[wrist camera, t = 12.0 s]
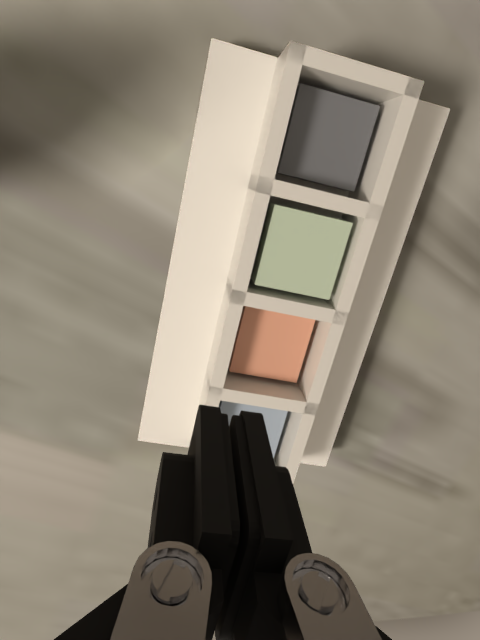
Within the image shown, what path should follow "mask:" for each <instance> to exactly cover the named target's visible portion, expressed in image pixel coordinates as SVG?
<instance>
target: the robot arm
mask: <svg viewBox="0 0 480 640" xmlns="http://www.w3.org/2000/svg"><path fill="white" fill-rule="evenodd" d="M214 631H215V637H216V640H392V639H391V638H389V637H388V636H387V635H386V634H385V633H383V632H382V631H381V630H380V629H379V628H377V627H376V626H375V625H374V623H373V621H372V619H371V617H370V615H369V613H368V611H367V609H366V607H365V605H364V603H363V601H362V599H361V597H360V595H359V593H358V591H357V589H356V587H355V585H354V583H353V581H352V580H351V578H350V577H349V575H348V574H347V573H346V572H345V571H344V570H343V569H342V568H341V567H340V566H339V565H338V564H337V563H335V562H334V561H332V560H331V559H329V558H327V557H325V556H322V555H319V554H314V553H312V550H311V547H310V543H309V540H308V536H307V533H306V529H305V526H304V522H303V518H302V515H301V511H300V508H299V504H298V501H297V497H296V494H295V490H294V487H293V483H292V480H291V476H290V473H289V470H288V469H287V468H286V467H282V466H275V463H274V459H273V455H272V450H271V446H270V442H269V438H268V434H267V430H266V426H265V422H264V418H263V415H262V413H256V412H249V411H241V412H240V414H239V416H238V415H233V416H232V418H231V421H230V425H229V422H228V415H227V414H224V413H221V409H220V407H214V406H207V405H199V407H198V411H197V415H196V420H195V424H194V429H193V433H192V437H191V442H190V446H189V451H188V455H182V454H174V453H166V452H163V454H162V458H161V463H160V468H159V473H158V478H157V483H156V489H155V495H154V502H153V509H152V517H151V525H150V533H149V541H148V548H147V549H146V550H145V551H144V552H143V553H142V554H141V555H140V556H139V557H138V559H137V561H136V563H135V565H134V567H133V570H132V573H131V577H130V580H129V583H128V584H127V585H126V586H124V587H123V588H122V589H120V590H119V591H118V592H116V593H115V594H114V595H112V596H111V597H110V598H108V599H107V600H106V601H104V602H103V603H102V604H100V605H99V606H98V607H96V608H95V609H94V610H92V611H91V612H90V613H88V614H87V615H86V616H84V617H83V618H82V619H80V620H79V621H78V622H76V623H75V624H74V625H72V626H71V627H70V628H68V629H67V630H66V631H64V632H63V633H62V634H61V635H59V636H58V637H57V638H55V639H54V640H212V638H213V634H214Z"/></svg>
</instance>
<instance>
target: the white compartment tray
mask: <svg viewBox="0 0 480 640" xmlns="http://www.w3.org/2000/svg"><path fill="white" fill-rule="evenodd" d="M300 83H302V84H305V85H309V86H312V87H315V88H319V89H322V90H326V91H329V92H333V93H336V94H340V95H343V96H347V97H350V98H354V99H357V100H360V101H364V102H367V103H371V104H374V105H378V106H380V108H379V111H378V115H377V118H376V121H375V125H374V128H373V131H372V135H371V138H370V141H369V144H368V148H367V151H366V154H365V158H364V161H363V164H362V168H361V171H360V174H359V178H358V181H357V184H356V187H355V191H354V192H353V191H346V190H341V189H337V188H333V187H329V186H325V185H321V184H317V183H313V182H309V181H305V180H301V179H297V178H293V177H289V176H285V175H281V174H277V173H276V171H277V166H278V162H279V158H280V154H281V150H282V146H283V142H284V138H285V134H286V130H287V126H288V122H289V117H290V113H291V109H292V105H293V101H294V97H295V93H296V89H297V86H298V85H299V84H300ZM423 84H424V81H422V80H419V79H415V78H412V77H409V76H406V75H402V74H399V73H396V72H392V71H389V70H386V69H383V68H379V67H376V66H373V65H370V64H366V63H363V62H360V61H356V60H353V59H350V58H347V57H343V56H340V55H337V54H333V53H330V52H327V51H324V50H320V49H317V48H314V47H310V46H307V45H304V44H301V43H297V42H294V41H290V42H289V43H288V45H287V46H286V48H285V49H284V50H283V52H282V53H281V55H280V56H279V57H274V56H271V55H268V54H264V53H261V52H258V51H254V50H251V49H247V48H244V47H241V46H237V45H234V44H231V43H227V42H224V41H220V40H217V39H214V38H211V44H210V49H209V55H208V60H207V65H206V71H205V76H204V82H203V87H202V93H201V98H200V104H199V109H198V114H197V120H196V125H195V131H194V136H193V142H192V147H191V153H190V158H189V163H188V169H187V174H186V180H185V185H184V191H183V196H182V201H181V207H180V212H179V218H178V223H177V229H176V234H175V240H174V245H173V250H172V256H171V261H170V267H169V272H168V278H167V283H166V289H165V294H164V299H163V305H162V310H161V316H160V321H159V327H158V332H157V338H156V343H155V348H154V354H153V359H152V365H151V370H150V376H149V381H148V387H147V392H146V397H145V403H144V408H143V414H142V419H141V425H140V430H139V436H138V441H146V442H153V443H160V444H167V445H174V446H181V447H189V446H190V442H191V437H192V433H193V429H194V424H195V420H196V415H197V411H198V407H199V405H207V406H214V407H219V403H220V400H221V401H227V402H233V403H240V404H246V405H252V406H259V407H265V408H271V409H277V410H284V411H288V413H287V416H286V419H285V423H284V426H283V429H282V433H281V436H280V439H279V442H278V446H277V449H276V452H275V456H274V463H275V466H282V467H286V468H287V469H288V470H289V473H290V476H291V480H292V483H294V480H295V477H296V474H297V470H298V467H299V464H300V463H304V464H311V465H318V466H325V467H326V464H327V461H328V458H329V455H330V452H331V449H332V446H333V444H334V441H335V438H336V435H337V432H338V429H339V426H340V424H341V421H342V418H343V415H344V412H345V409H346V406H347V404H348V401H349V398H350V395H351V392H352V389H353V386H354V384H355V381H356V378H357V375H358V372H359V369H360V366H361V363H362V361H363V358H364V355H365V352H366V349H367V346H368V343H369V341H370V338H371V335H372V332H373V329H374V326H375V323H376V321H377V318H378V315H379V312H380V309H381V306H382V303H383V301H384V298H385V295H386V292H387V289H388V286H389V283H390V280H391V278H392V275H393V272H394V269H395V266H396V263H397V260H398V258H399V255H400V252H401V249H402V246H403V243H404V240H405V238H406V235H407V232H408V229H409V226H410V223H411V220H412V217H413V215H414V212H415V209H416V206H417V203H418V200H419V197H420V195H421V192H422V189H423V186H424V183H425V180H426V177H427V175H428V172H429V169H430V166H431V163H432V160H433V157H434V155H435V152H436V149H437V146H438V143H439V140H440V137H441V134H442V132H443V129H444V126H445V123H446V120H447V117H448V114H449V112H450V108H447V107H443V106H440V105H436V104H433V103H430V102H426V101H423V100H420V99H419V97H420V94H421V91H422V88H423ZM269 202H272V203H276V204H280V205H284V206H288V207H292V208H297V209H301V210H305V211H309V212H313V213H318V214H322V215H326V216H330V217H334V218H338V219H343V220H345V221H348V222H351V223H353V225H352V228H351V231H350V234H349V237H348V241H347V244H346V247H345V250H344V254H343V257H342V260H341V263H340V267H339V270H338V273H337V276H336V280H335V283H334V286H333V289H332V293H331V296H330V299H329V300H327V299H322V298H317V297H312V296H307V295H303V294H298V293H293V292H288V291H283V290H278V289H273V288H269V287H264V286H259V285H255V284H254V282H253V280H252V278H251V274H252V270H253V266H254V262H255V258H256V254H257V250H258V246H259V242H260V238H261V234H262V230H263V226H264V221H265V217H266V213H267V209H268V205H269ZM243 306H247V307H252V308H257V309H263V310H268V311H273V312H278V313H283V314H288V315H293V316H298V317H303V318H308V319H313V320H315V323H314V327H313V330H312V333H311V337H310V340H309V343H308V346H307V350H306V353H305V356H304V360H303V363H302V366H301V370H300V373H299V376H298V380H297V383H294V382H288V381H282V380H277V379H271V378H265V377H259V376H253V375H247V374H241V373H236V372H230V371H229V362H230V358H231V354H232V350H233V346H234V342H235V338H236V334H237V330H238V326H239V322H240V318H241V313H242V309H243Z"/></svg>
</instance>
